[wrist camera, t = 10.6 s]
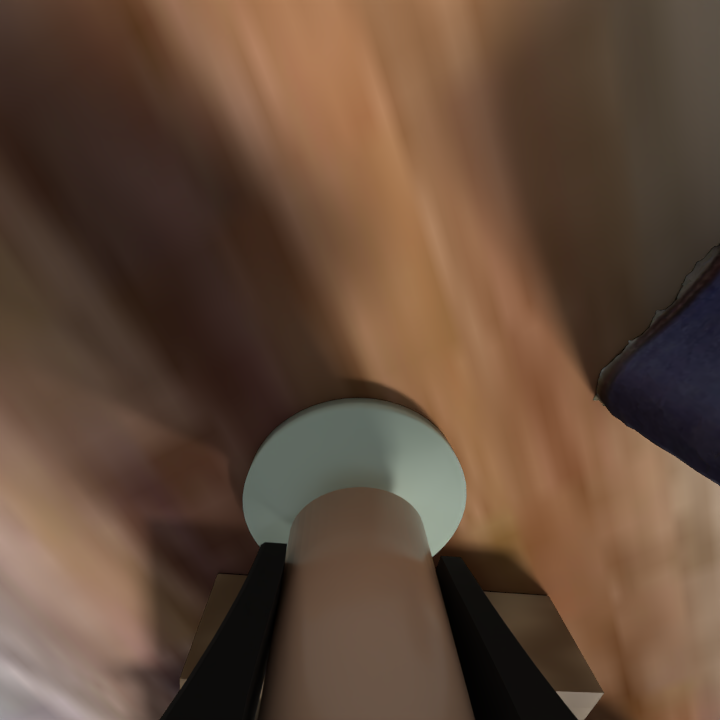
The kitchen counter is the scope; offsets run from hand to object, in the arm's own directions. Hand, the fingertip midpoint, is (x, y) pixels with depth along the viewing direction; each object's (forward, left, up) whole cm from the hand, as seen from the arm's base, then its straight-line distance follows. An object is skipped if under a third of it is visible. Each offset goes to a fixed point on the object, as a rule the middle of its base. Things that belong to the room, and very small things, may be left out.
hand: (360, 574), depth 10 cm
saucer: (0, 0, -3) cm, 3 cm away
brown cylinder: (0, 0, -1) cm, 1 cm away
